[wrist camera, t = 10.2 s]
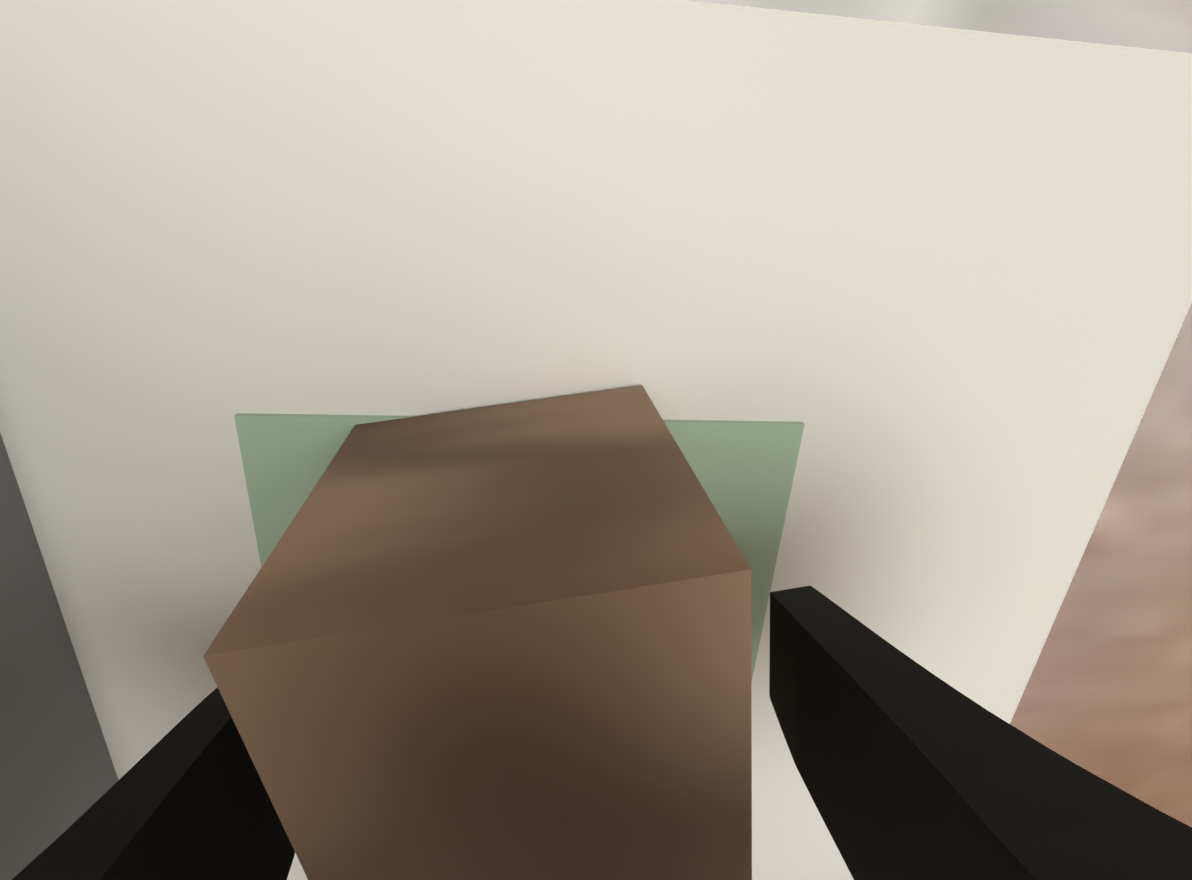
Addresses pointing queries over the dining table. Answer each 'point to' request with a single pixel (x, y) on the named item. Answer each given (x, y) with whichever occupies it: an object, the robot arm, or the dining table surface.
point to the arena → (561, 316)
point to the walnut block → (503, 654)
